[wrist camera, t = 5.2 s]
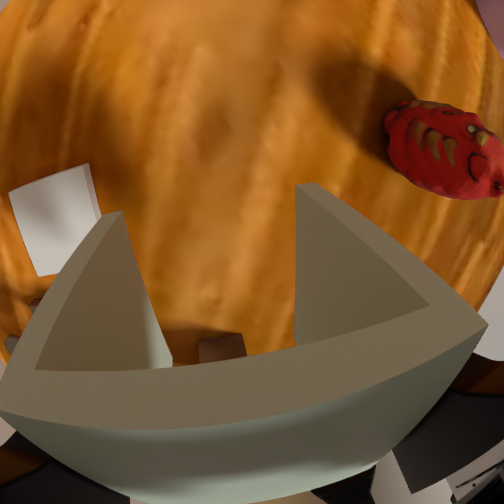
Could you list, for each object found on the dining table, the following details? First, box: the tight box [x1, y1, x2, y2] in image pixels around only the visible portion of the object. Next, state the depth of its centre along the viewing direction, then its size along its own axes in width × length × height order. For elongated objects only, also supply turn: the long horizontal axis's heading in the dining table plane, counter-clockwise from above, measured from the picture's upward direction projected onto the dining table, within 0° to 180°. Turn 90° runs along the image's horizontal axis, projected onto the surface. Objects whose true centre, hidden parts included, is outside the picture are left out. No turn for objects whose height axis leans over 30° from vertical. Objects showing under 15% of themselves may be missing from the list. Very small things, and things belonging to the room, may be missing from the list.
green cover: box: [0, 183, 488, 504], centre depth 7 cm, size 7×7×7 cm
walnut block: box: [198, 334, 247, 364], centre depth 22 cm, size 4×4×5 cm
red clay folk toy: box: [382, 100, 504, 200], centre depth 11 cm, size 8×7×15 cm
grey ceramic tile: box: [8, 163, 102, 277], centre depth 15 cm, size 7×7×1 cm
